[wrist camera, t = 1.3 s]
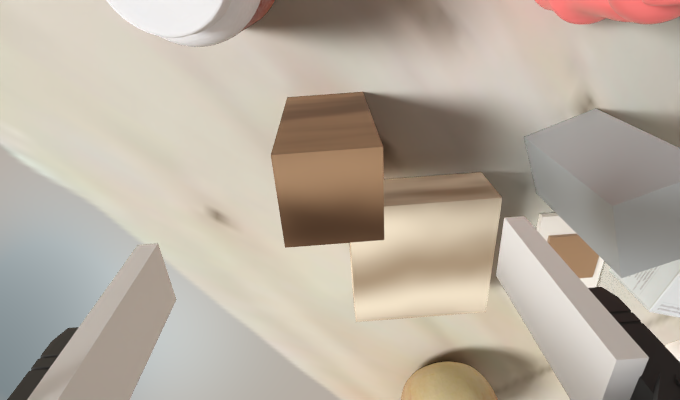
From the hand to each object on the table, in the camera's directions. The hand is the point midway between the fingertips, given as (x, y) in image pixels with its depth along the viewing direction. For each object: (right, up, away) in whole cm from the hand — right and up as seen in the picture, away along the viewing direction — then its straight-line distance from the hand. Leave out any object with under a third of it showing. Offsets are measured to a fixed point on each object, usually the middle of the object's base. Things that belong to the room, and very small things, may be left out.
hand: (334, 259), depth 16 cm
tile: (+19, -2, +18) cm, 26 cm away
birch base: (+6, 0, +17) cm, 18 cm away
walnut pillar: (-1, +7, +12) cm, 14 cm away
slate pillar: (+17, +6, +14) cm, 22 cm away
